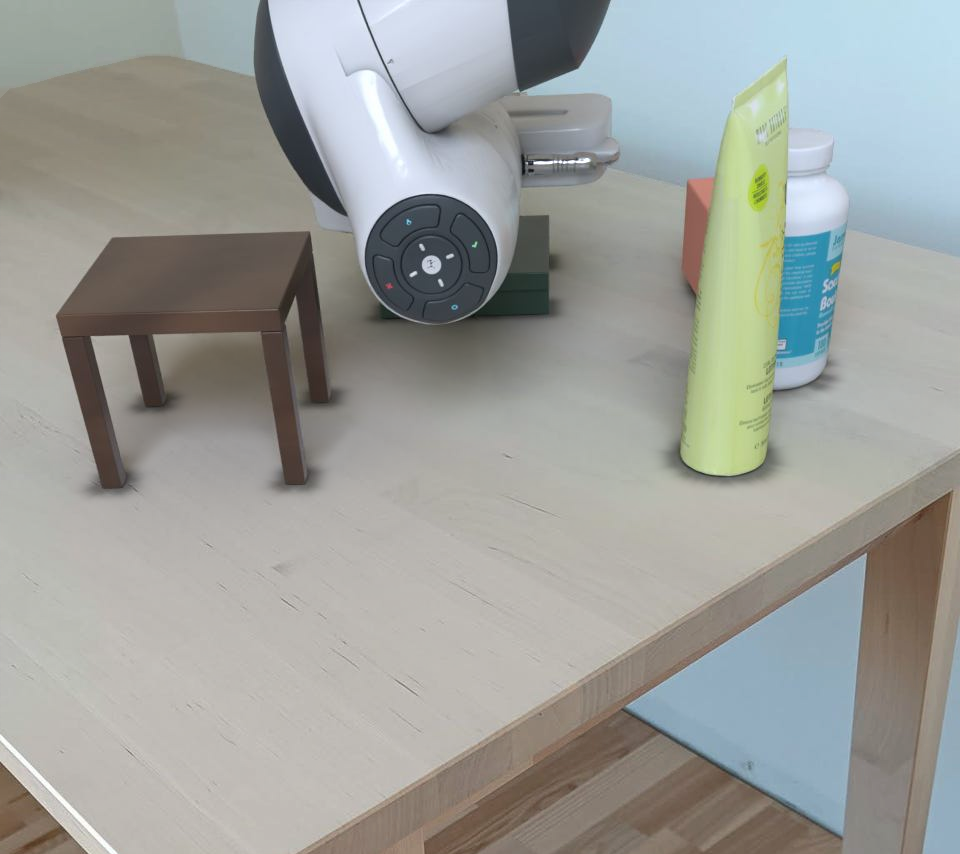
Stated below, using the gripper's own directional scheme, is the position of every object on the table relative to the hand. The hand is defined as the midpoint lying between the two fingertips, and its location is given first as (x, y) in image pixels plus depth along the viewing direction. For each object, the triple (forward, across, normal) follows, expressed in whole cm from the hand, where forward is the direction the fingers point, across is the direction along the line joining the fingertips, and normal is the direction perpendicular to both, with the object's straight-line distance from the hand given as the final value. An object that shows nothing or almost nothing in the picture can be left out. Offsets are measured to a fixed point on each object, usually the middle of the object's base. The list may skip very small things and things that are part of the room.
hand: (461, 107), depth 87 cm
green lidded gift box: (-1, 0, +12) cm, 12 cm away
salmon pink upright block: (-5, -20, +12) cm, 24 cm away
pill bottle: (-17, -20, +12) cm, 29 cm away
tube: (-29, -16, +12) cm, 35 cm away
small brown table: (-25, +14, +12) cm, 31 cm away
